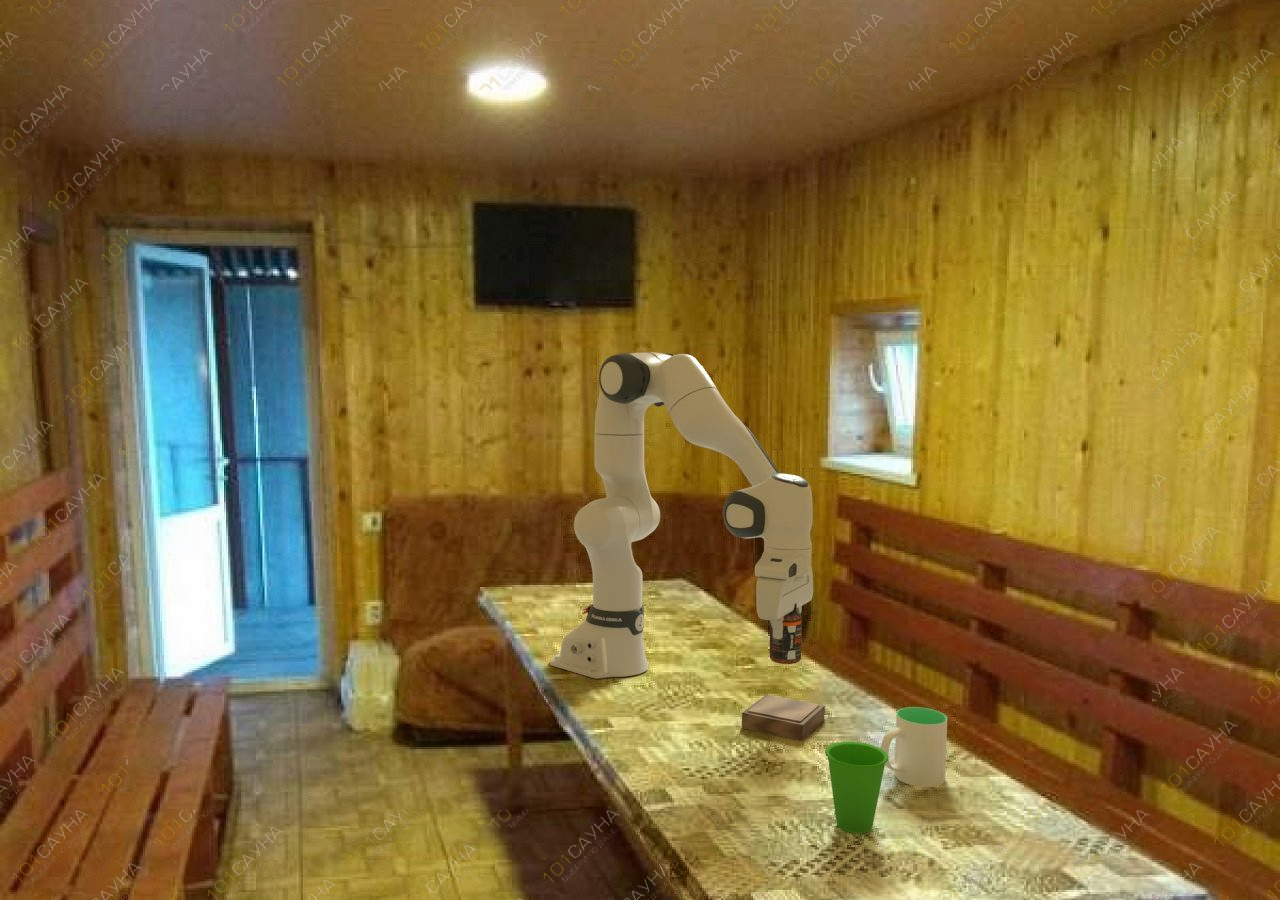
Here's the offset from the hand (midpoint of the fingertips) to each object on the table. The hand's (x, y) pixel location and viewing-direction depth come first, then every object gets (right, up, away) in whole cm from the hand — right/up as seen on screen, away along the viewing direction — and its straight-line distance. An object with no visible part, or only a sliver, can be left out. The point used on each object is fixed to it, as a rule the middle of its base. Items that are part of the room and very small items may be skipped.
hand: (785, 633), depth 179 cm
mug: (+17, -20, -22) cm, 35 cm away
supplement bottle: (0, -5, +1) cm, 5 cm away
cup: (+4, -21, -39) cm, 45 cm away
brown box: (0, -18, +1) cm, 18 cm away
